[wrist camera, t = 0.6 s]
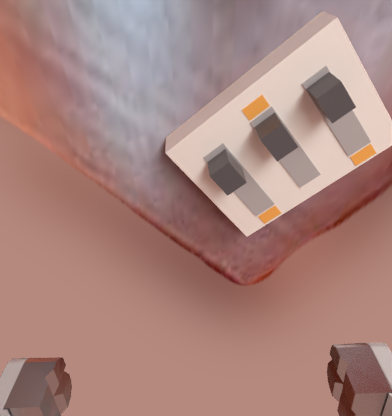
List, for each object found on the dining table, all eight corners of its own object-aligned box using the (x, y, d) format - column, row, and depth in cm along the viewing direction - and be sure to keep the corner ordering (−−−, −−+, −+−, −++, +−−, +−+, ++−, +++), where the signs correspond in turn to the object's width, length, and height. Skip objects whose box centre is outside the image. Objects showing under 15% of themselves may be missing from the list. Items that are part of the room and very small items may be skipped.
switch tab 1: (207, 162, 39) (209, 176, 37) (225, 148, 38) (229, 162, 36) (224, 181, 41) (227, 195, 38) (242, 168, 40) (246, 182, 37)
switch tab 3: (306, 88, 35) (316, 98, 33) (329, 71, 35) (341, 81, 32) (321, 112, 37) (332, 123, 34) (343, 96, 36) (356, 107, 34)
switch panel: (165, 137, 42) (165, 153, 39) (322, 11, 36) (338, 17, 32) (241, 217, 49) (247, 237, 46) (384, 124, 43) (402, 139, 39)
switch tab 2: (254, 127, 37) (260, 140, 35) (274, 112, 37) (281, 124, 34) (270, 148, 39) (277, 161, 36) (290, 134, 38) (298, 146, 35)
